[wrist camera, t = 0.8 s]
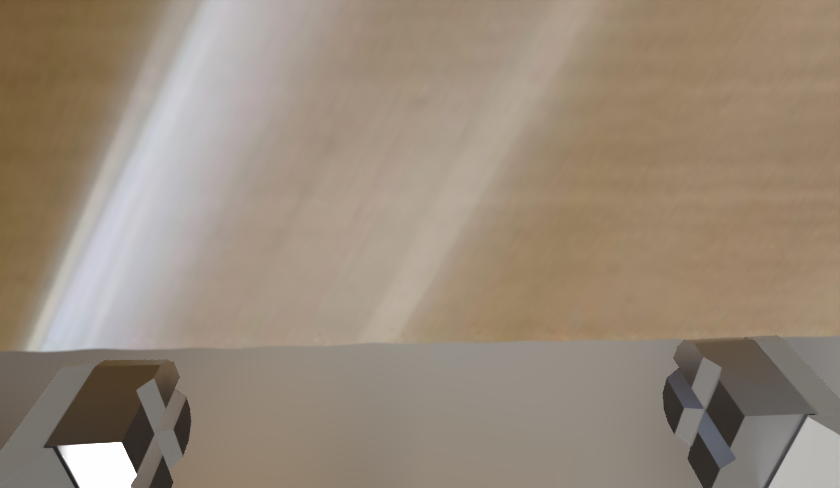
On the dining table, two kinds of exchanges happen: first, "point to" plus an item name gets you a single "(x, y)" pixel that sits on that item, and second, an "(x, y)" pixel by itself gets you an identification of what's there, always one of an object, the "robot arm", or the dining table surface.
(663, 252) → the dining table surface
